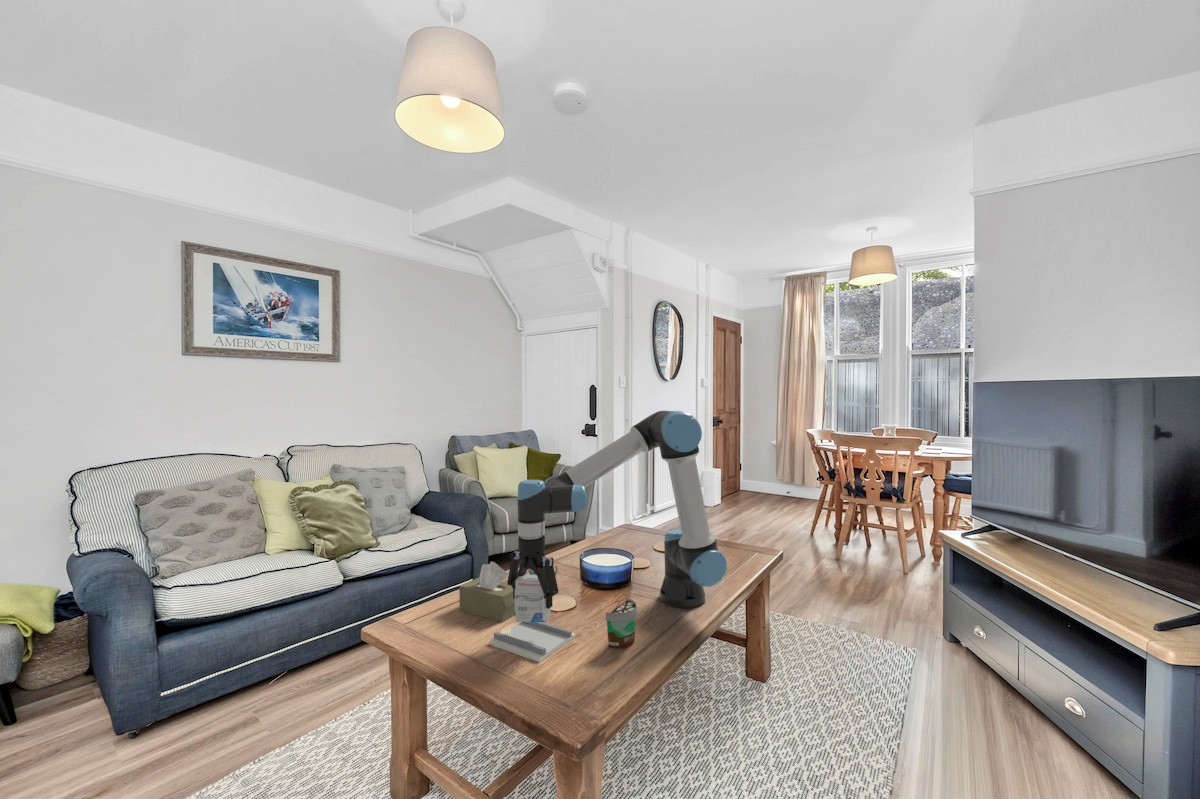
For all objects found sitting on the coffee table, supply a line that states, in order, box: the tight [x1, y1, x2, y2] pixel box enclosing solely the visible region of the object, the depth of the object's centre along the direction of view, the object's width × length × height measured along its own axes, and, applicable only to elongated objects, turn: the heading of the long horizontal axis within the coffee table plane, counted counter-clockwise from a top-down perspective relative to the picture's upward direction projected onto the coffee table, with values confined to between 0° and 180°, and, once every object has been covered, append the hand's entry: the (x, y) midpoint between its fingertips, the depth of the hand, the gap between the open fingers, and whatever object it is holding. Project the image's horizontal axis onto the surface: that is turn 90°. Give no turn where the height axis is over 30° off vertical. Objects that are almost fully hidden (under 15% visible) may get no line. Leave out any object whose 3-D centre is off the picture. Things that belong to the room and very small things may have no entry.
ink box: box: [515, 574, 547, 623], centre depth 144 cm, size 8×5×12 cm, turn 84°
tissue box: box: [458, 561, 516, 623], centre depth 164 cm, size 19×10×16 cm, turn 60°
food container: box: [605, 597, 640, 649], centre depth 142 cm, size 12×6×10 cm, turn 148°
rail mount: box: [488, 622, 576, 663], centre depth 144 cm, size 18×16×2 cm
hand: (532, 614), depth 144 cm, fingers closed on ink box, 9 cm apart
